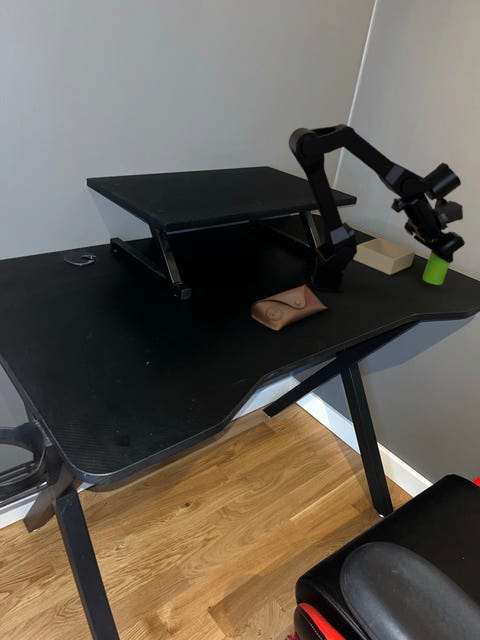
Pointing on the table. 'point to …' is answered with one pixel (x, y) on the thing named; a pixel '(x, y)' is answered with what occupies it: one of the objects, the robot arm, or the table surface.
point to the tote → (384, 255)
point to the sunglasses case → (286, 307)
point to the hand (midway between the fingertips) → (445, 257)
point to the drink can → (435, 270)
